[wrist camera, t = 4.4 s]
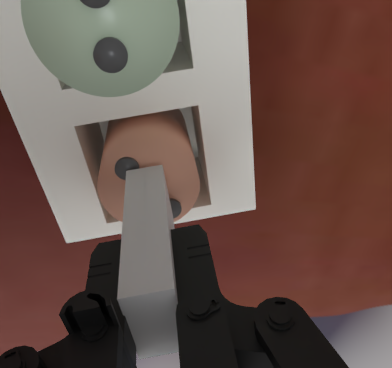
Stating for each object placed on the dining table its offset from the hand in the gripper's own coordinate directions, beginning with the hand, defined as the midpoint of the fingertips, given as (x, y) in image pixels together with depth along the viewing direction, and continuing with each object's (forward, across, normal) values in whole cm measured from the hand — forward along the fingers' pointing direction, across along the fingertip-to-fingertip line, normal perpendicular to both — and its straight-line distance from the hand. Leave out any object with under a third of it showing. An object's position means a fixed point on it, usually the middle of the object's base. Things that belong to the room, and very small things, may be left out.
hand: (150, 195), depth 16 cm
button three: (+6, 0, 0) cm, 6 cm away
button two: (+5, 0, +7) cm, 8 cm away
